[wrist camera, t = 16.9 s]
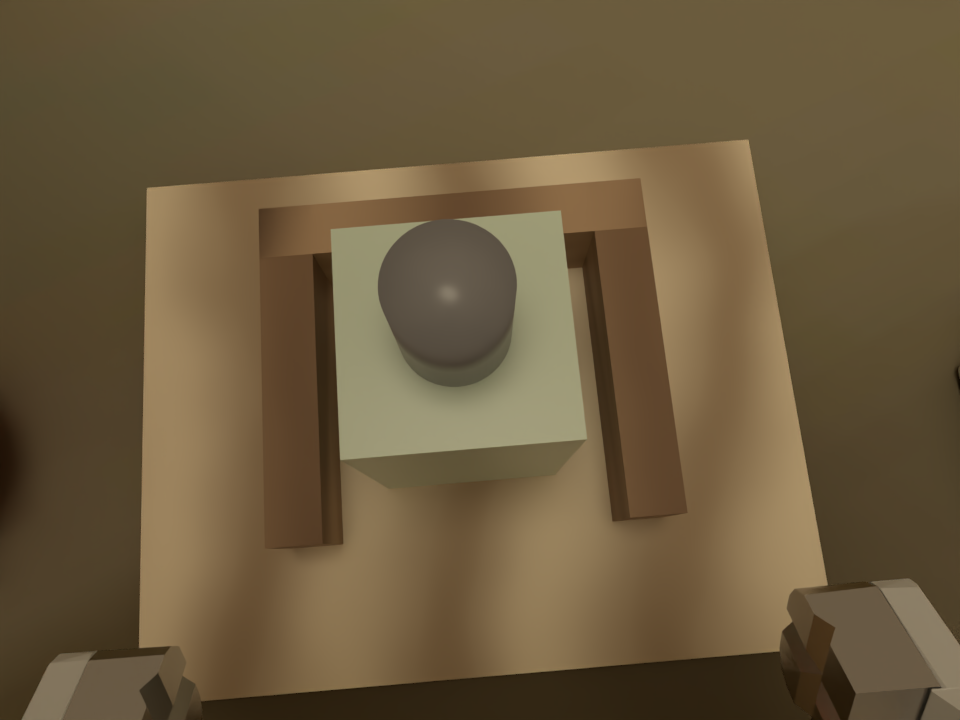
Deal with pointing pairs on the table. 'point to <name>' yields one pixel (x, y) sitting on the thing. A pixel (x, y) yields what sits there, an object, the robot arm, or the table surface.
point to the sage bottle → (456, 350)
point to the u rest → (482, 504)
